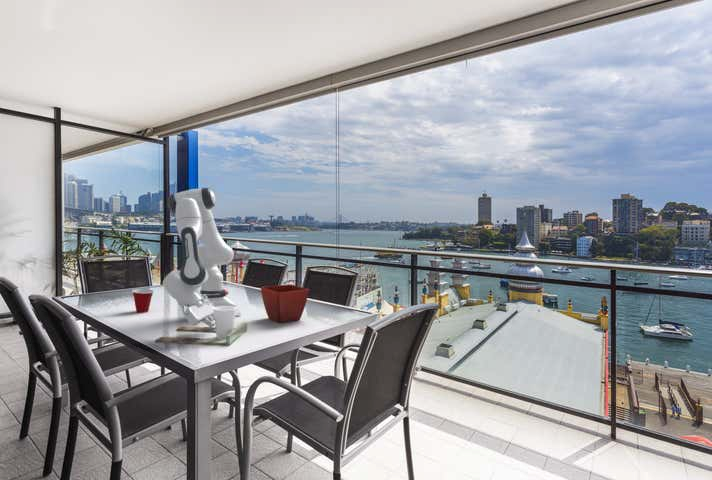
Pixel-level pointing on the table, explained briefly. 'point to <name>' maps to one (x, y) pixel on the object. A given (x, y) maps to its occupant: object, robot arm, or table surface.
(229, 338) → the runway box
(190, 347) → the table surface
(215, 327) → the trap pads
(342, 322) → the table surface
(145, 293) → the plastic cup
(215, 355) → the table surface
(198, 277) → the robot arm
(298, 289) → the plant pot
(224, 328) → the foam cup
